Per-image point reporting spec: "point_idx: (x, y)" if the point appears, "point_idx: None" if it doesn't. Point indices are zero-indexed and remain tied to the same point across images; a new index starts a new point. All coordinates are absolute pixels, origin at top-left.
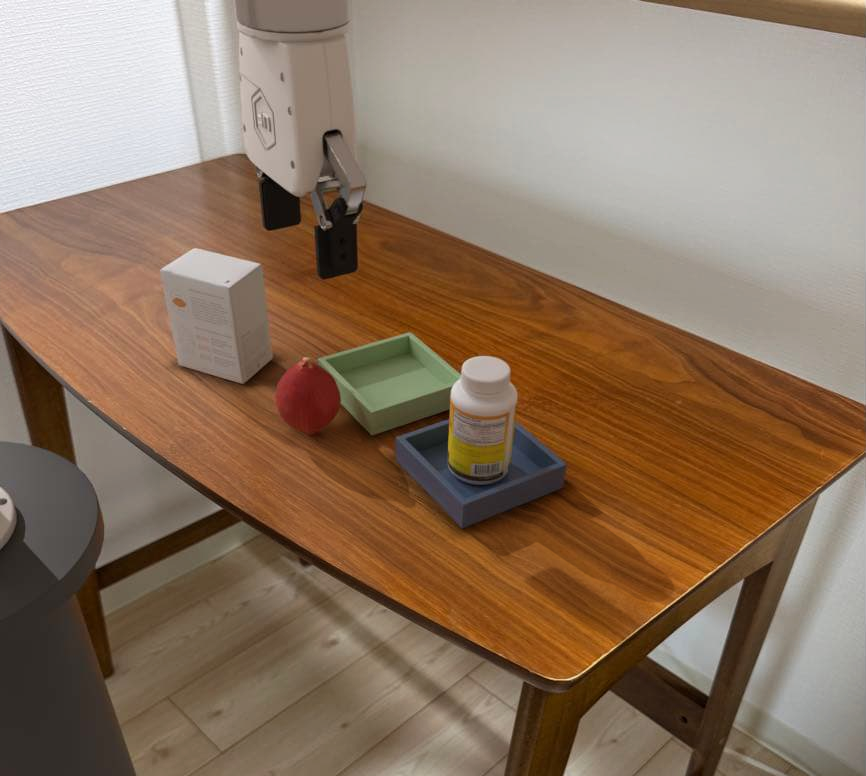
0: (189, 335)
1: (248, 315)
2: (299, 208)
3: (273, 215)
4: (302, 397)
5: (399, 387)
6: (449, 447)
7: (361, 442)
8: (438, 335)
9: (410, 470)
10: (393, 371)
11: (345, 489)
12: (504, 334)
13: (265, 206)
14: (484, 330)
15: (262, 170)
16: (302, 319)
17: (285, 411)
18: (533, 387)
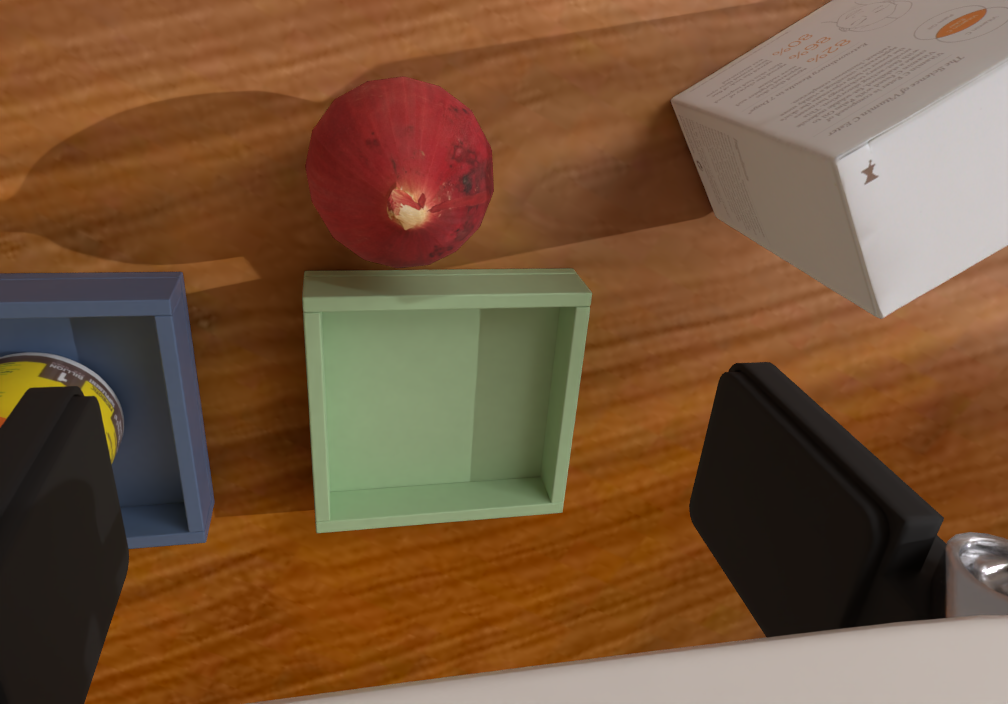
0: (869, 25)
1: (774, 193)
2: (721, 565)
3: (749, 438)
4: (336, 139)
5: (431, 405)
6: (33, 385)
7: (292, 237)
8: (572, 548)
9: (103, 278)
10: (495, 421)
11: (117, 105)
12: (500, 644)
13: (797, 436)
14: (534, 621)
15: (739, 652)
16: (805, 348)
17: (367, 84)
18: (306, 616)
